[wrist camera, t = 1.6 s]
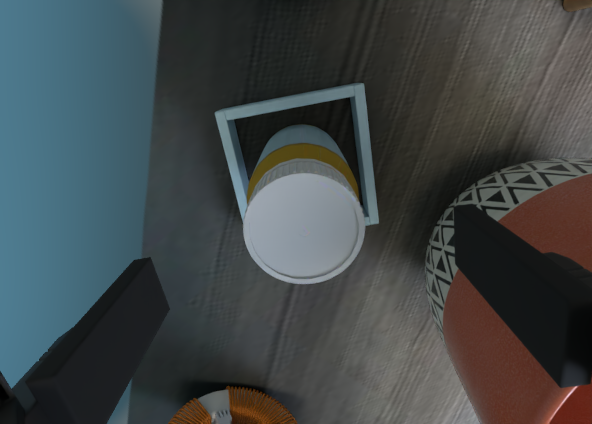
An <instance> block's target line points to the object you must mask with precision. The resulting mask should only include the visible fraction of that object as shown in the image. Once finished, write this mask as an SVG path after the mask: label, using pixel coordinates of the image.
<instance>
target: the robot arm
mask: <svg viewBox="0 0 592 424" xmlns="http://www.w3.org/2000/svg"><path fill="white" fill-rule="evenodd" d="M453 211H454V248H455V265H456V266H457V267H458V268H459V270H460V271H461V272H462V273H463V274H464V275H465V277H466V278H467V279H468V280H469V281H470V283H471V284H472V285H473V286H474V287H475V288H476V290H477V291H478V292H479V293H480V294H481V295H482V297H483V298H484V299H485V300H486V301H487V303H488V304H489V305H490V306H491V307H492V308H493V310H494V311H495V312H496V313H497V314H498V315H499V317H500V318H501V319H502V320H503V321H504V322H505V324H506V325H507V326H508V327H509V328H510V330H511V331H512V332H513V333H514V334H515V335H516V337H517V338H518V339H519V340H520V341H521V342H522V344H523V345H524V346H525V347H526V348H527V349H528V351H529V352H530V353H531V354H532V355H533V357H534V358H535V359H536V360H537V361H538V362H539V364H540V365H541V366H542V367H543V368H544V369H545V371H546V372H547V373H548V374H549V375H550V376H551V378H552V379H553V380H554V381H555V382H556V384H557V385H558V386H559V387H560V388H565V387H573V386H581V385H588V384H591V377H592V272H590V271H589V270H587V269H584V268H583V266H581V265H580V264H578V263H577V262H575V261H574V260H572V259H571V258H568V257H565V256H563V255H560V254H557V253H554V252H547V253H541V252H540V251H538V250H537V249H536V248H534V247H533V246H531V245H530V244H529V243H527V242H526V241H524V240H523V239H522V238H520V237H519V236H517V235H516V234H515V233H513V232H512V231H510V230H509V229H507V228H506V227H505V226H503V225H502V224H500V223H499V222H498V221H496V220H495V219H493V218H492V217H491V216H489V215H488V214H486V213H485V212H484V211H482V210H481V209H479V208H478V207H477V206H475V205H474V204H466V205H460V206H454V207H453ZM169 310H170V308H169V305H168V303H167V300H166V297H165V295H164V292H163V289H162V287H161V284H160V281H159V279H158V276H157V273H156V271H155V268H154V265H153V263H152V260H151V257H149V258H143V259H138V260H134V261H133V262H132V263H131V264H130V265H129V266H128V267H127V268H126V270H125V271H124V272H123V273H122V274H121V275H120V276H119V277H118V278H117V280H116V281H115V282H114V283H113V284H112V285H111V286H110V287H109V288H108V289H107V291H106V292H105V293H104V294H103V295H102V296H101V297H100V299H98V301H97V302H96V303H95V304H94V305H93V306H92V307H91V308H90V310H89V311H88V312H87V313H86V314H85V315H84V316H83V317H82V318H81V320H80V321H79V322H78V323H77V324H76V325H75V326H74V327H73V328H71V329H70V330H69V331H67V332H66V333H65V334H63V335H62V336H61V337H59V338H58V339H57V340H56V341H55V342H54V344H53V345H52V346H51V347H50V348H49V349H48V352H45V353H44V354H43V356H42V357H41V358H40V359H39V361H38V362H36V363H35V364H34V365H33V366H32V367H31V369H30V370H29V371H28V372H27V373H26V374H25V375H24V376H23V377H22V378H21V379H20V380H19V382H18V383H17V384H16V385H15V386H14V387H13V388H12V389H11V388H10V386H9V384H8V383H7V381H6V380H5V378H4V377H3V375H2V373H1V372H0V424H107V422H108V420H109V418H110V416H111V415H112V413H113V411H114V409H115V407H116V405H117V404H118V402H119V400H120V398H121V396H122V395H123V393H124V391H125V389H126V387H127V386H128V384H129V382H130V380H131V378H132V377H133V375H134V373H135V371H136V369H137V367H138V366H139V364H140V362H141V360H142V358H143V357H144V355H145V353H146V351H147V349H148V348H149V346H150V344H151V342H152V340H153V338H154V337H155V335H156V333H157V331H158V329H159V328H160V326H161V324H162V322H163V320H164V319H165V317H166V315H167V313H168V311H169Z"/></svg>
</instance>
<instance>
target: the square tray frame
mask: <svg viewBox="0 0 592 424" xmlns="http://www.w3.org/2000/svg"><path fill="white" fill-rule="evenodd" d="M348 97H350V102H351V110H352V118H353V126H354V134H355V143H356V151H357V159H358V167H359V175H360V183H361V191H362V200H363V205H361V207H362V209H363V213H364V219H365V226H367V225H372V224H378V223H379V218H378V208H377V199H376V190H375V181H374V171H373V162H372V153H371V143H370V134H369V125H368V115H367V106H366V97H365V88H364V83H353V84H349V85H348V84H347V85H342V86H337V87H332V88H327V89H322V90H316V91H311V92H306V93H301V94H296V95H291V96H285V97H280V98H275V99H270V100H265V101H260V102H255V103H249V104H244V105H239V106H234V107H229V108H224V109H221V110H219V111H216V112H215V117H216V120H217V124H218V128H219V132H220V136H221V140H222V144H223V147H224V151H225V155H226V159H227V163H228V167H229V171H230V174H231V178H232V182H233V186H234V190H235V194H236V198H237V201H238V205H239V209H240V213H241V217H242V221H243V219H244V216H245V215H244V214H245V211H246V208H247V191H248V185H249V180H248V176H247V172H246V168H245V164H244V159H243V155H242V151H241V147H240V143H239V139H238V135H237V130H236V126H235V122H234V119H238V118H243V117H249V116H254V115H259V114H264V113H270V112H275V111H280V110H285V109H290V108H296V107H301V106H306V105H311V104H317V103H322V102H327V101H332V100H337V99H343V98H348ZM243 223H244V222H243Z"/></svg>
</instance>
